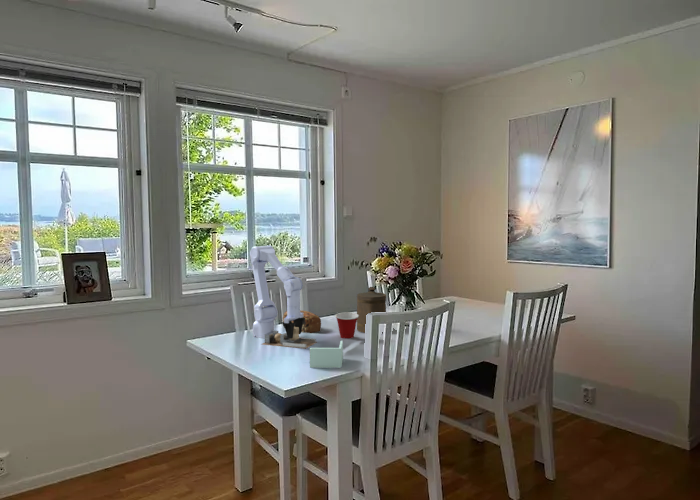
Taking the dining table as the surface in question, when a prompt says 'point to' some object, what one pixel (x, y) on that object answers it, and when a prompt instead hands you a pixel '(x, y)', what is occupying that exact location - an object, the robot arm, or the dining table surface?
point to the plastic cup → (346, 324)
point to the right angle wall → (326, 357)
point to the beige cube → (291, 340)
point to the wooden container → (369, 306)
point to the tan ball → (277, 337)
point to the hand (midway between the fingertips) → (294, 336)
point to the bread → (309, 322)
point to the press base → (303, 344)
